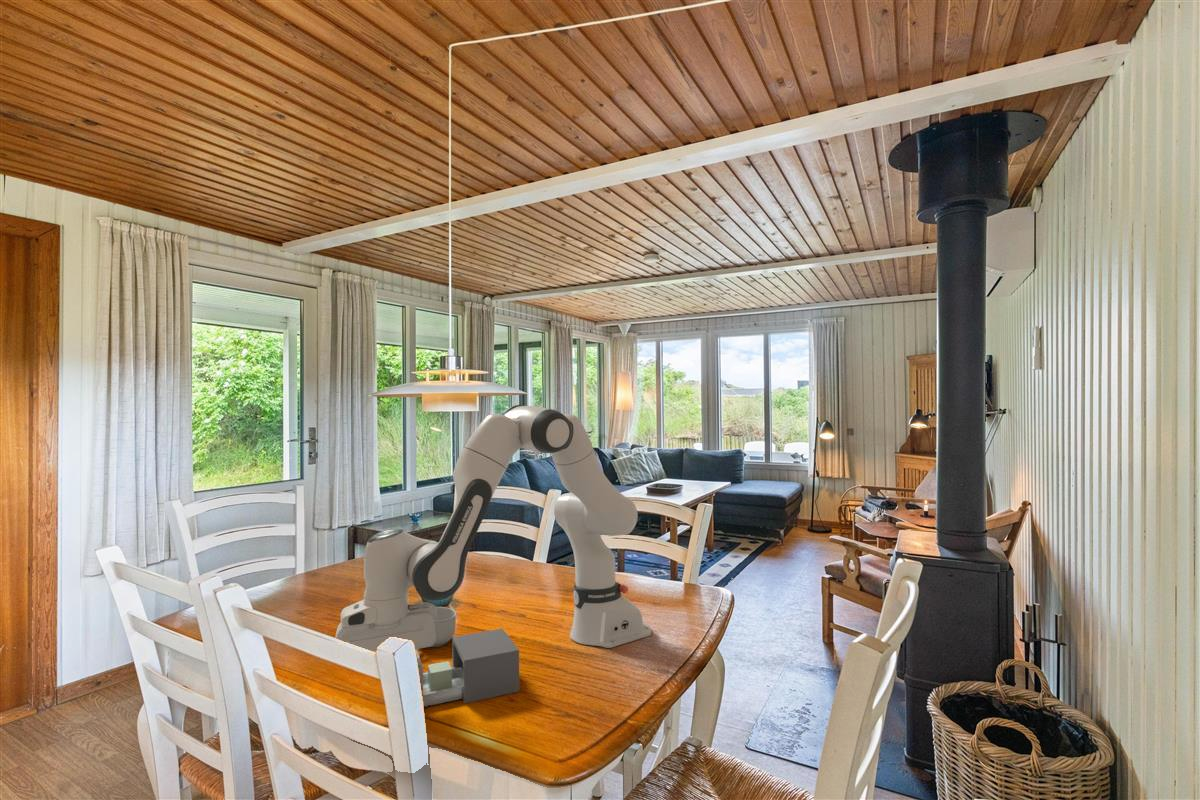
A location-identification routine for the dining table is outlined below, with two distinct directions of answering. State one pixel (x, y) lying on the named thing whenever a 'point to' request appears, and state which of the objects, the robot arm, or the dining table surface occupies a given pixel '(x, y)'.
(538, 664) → the dining table surface
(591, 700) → the dining table surface
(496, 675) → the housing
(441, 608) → the teacup
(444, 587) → the robot arm
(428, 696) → the tray
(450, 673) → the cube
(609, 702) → the dining table surface
